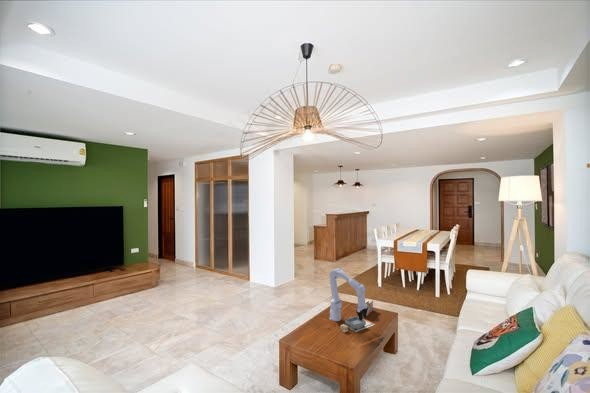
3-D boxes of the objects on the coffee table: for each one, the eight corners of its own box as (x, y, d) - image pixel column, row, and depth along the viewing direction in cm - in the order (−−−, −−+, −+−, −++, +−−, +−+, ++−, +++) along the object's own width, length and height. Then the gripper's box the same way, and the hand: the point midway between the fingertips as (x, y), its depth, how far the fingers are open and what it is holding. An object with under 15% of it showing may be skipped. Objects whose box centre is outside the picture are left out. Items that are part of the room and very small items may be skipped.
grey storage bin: (345, 325, 229) (345, 319, 229) (355, 321, 235) (355, 316, 235) (354, 330, 219) (354, 325, 219) (365, 326, 226) (365, 321, 226)
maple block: (340, 331, 222) (340, 325, 221) (344, 330, 224) (344, 324, 224) (344, 333, 218) (343, 327, 218) (347, 332, 220) (347, 326, 220)
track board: (344, 326, 230) (344, 325, 230) (363, 319, 241) (363, 318, 241) (355, 333, 219) (355, 331, 219) (375, 325, 230) (375, 324, 230)
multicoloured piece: (366, 308, 264) (366, 295, 264) (373, 310, 260) (372, 297, 260) (356, 317, 247) (356, 303, 247) (363, 318, 243) (363, 304, 243)
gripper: (362, 304, 214) (364, 322, 213) (369, 298, 226) (371, 316, 225) (354, 303, 218) (355, 321, 217) (361, 297, 230) (362, 314, 229)
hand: (362, 318), depth 222 cm, fingers open, 7 cm apart
